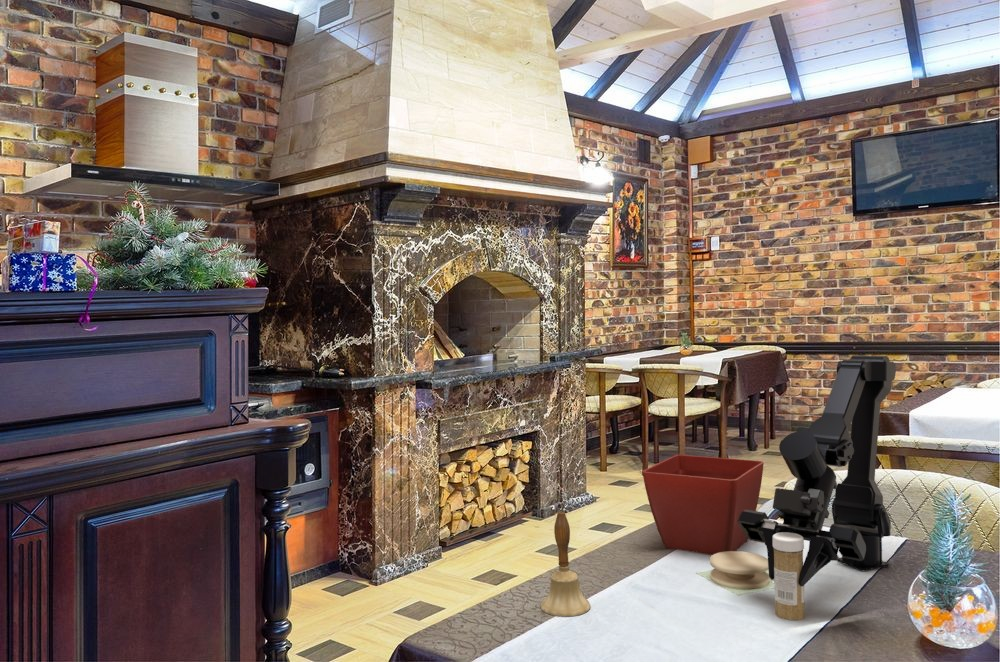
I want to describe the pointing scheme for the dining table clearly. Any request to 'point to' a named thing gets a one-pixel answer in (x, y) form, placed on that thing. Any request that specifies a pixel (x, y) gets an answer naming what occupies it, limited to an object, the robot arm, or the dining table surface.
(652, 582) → the dining table surface
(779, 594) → the sprinkles bottle
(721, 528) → the plant pot
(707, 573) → the notched board
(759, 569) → the bobbin
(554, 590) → the hand bell
